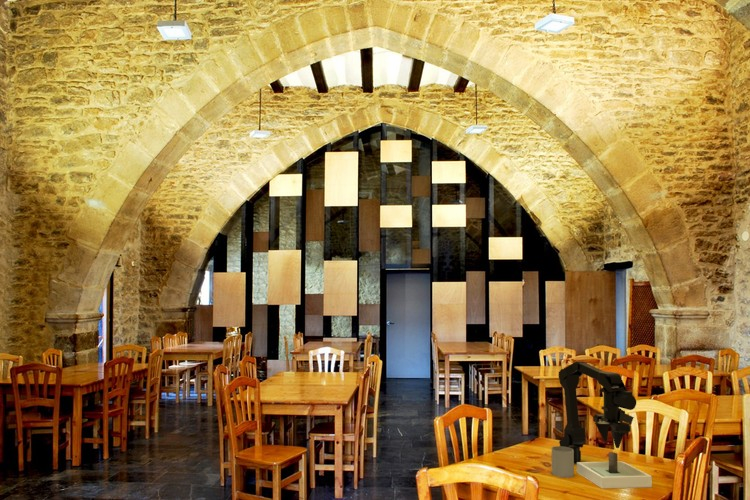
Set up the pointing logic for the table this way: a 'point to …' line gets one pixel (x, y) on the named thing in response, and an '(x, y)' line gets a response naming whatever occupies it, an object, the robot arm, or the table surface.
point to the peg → (613, 462)
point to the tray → (615, 479)
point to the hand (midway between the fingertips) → (611, 444)
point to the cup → (562, 461)
